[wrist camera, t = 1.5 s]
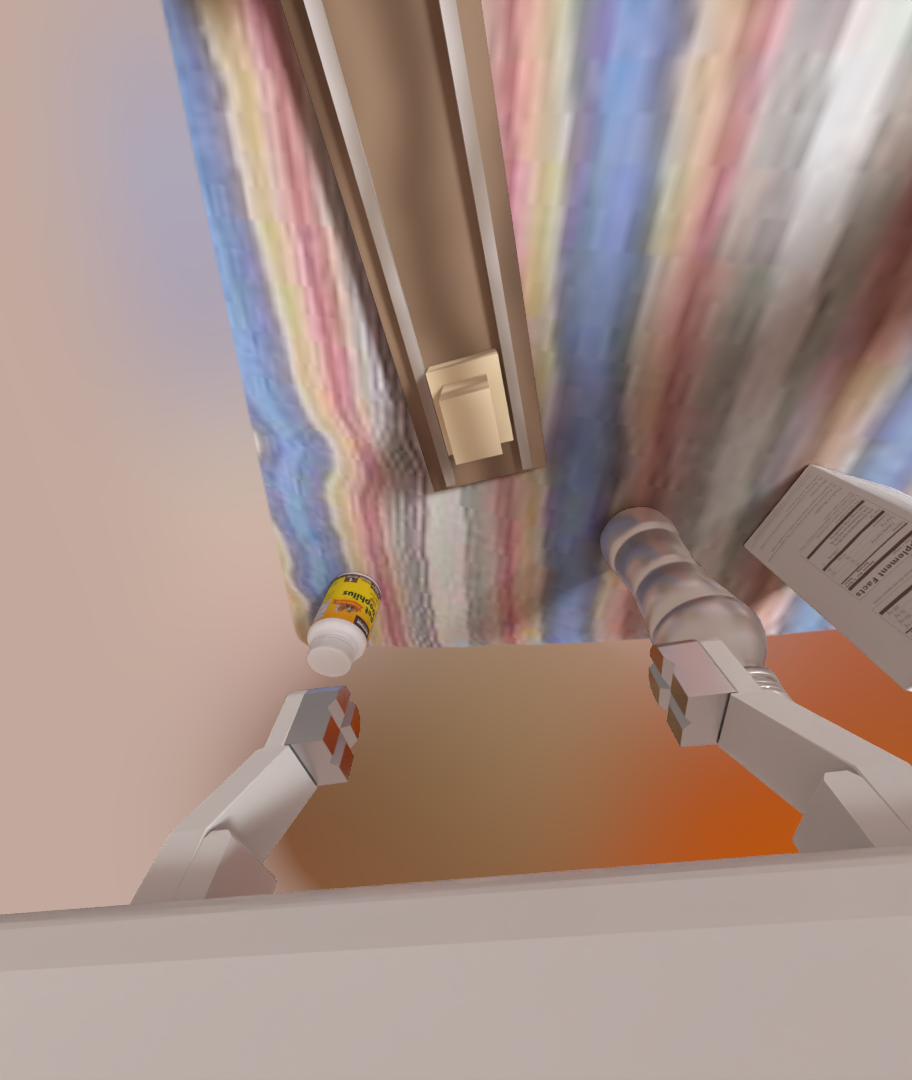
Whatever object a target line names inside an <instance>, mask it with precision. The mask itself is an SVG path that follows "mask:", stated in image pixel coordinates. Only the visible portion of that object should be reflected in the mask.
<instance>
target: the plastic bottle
mask: <svg viewBox="0 0 912 1080" xmlns="http://www.w3.org/2000/svg"><path fill="white" fill-rule="evenodd" d="M600 546H601V550H602V554H603V558H604V560H605V562H606V563H607V564H608V566H609V567H610V568H611V569H612V570H613V571H614V572H615V573H616V574H617V575H618V576H619V577H620V578H621V580H622V581H623V582H624V584H625V585H626V587H627V588H628V589H629V591H630V592H631V594H632V595H633V597H634V599H635V601H636V603H637V605H638V607H639V610H640V612H641V614H642V616H643V618H644V621H645V624H646V627H647V630H648V633H649V636H650V639H651V642H652V644H653V645H655V644H662V643H669V642H676V641H683V640H690V639H692V640H694V639H699V638H707V637H714V636H716V637H718V638H719V639H721V640H722V642H723V643H724V644H725V645H726V647H727V648H728V649H729V650H730V651H731V653H732V654H733V655H734V656H735V657H736V659H737V660H738V661H739V662H740V663H741V665H742V666H743V667H744V668H745V669H746V671H747V672H748V673H749V674H750V675H751V677H752V678H753V679H754V680H755V681H756V683H757V684H758V685H759V686H760V688H761V689H762V690H768V689H770V690H772V691H773V692H775V693H777V694H779V695H781V696H783V697H785V698H787V699H788V700H790V701H792V699H791V698H790V697H789V695H788V694H787V693H786V691H785V690H784V689H783V688H782V686H781V683H780V681H779V679H778V678H777V677H776V675H775V674H774V673H773V672H772V671H771V670H769V669H768V668H765V662H766V654H767V636H766V633H765V630H764V628H763V625H762V623H761V621H760V619H759V617H758V616H757V615H756V613H755V612H754V611H752V610H751V609H750V608H749V607H748V606H747V605H746V604H745V603H743V602H742V601H741V600H740V599H738V598H737V597H736V596H734V595H733V594H732V593H731V592H729V591H728V590H727V589H726V588H724V587H723V586H722V585H720V584H719V583H718V582H717V581H715V580H714V579H713V578H712V577H711V576H710V575H709V574H708V573H707V572H706V571H705V570H704V569H703V568H702V567H701V566H700V565H699V564H698V563H697V562H696V561H695V560H694V558H693V557H692V555H691V554H690V552H689V551H688V549H687V548H686V547H685V545H684V544H683V542H682V540H681V538H680V535H679V533H678V531H677V529H676V528H675V526H674V524H673V523H672V521H671V520H670V519H669V518H668V517H666V516H665V515H663V514H662V513H660V512H659V511H657V510H655V509H653V508H649V507H634V508H629V509H626V510H623V511H621V512H619V513H618V514H616V515H615V516H613V517H612V518H611V519H610V520H609V522H608V523H607V524H606V526H605V527H604V529H603V531H602V533H601V538H600ZM792 702H793V701H792Z"/></svg>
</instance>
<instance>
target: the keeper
mask: <svg viewBox="0 0 912 1080" xmlns="http://www.w3.org/2000/svg"><path fill="white" fill-rule="evenodd" d="M426 377H427V381H428V384H429V388H430V392H431V395H432V399H433V402H434V406H435V410H436V413H437V417H438V420H439V424H440V427H441V431H442V435H443V438H444V442H445V445H446V449H447V452H448V456H450V455H453V456H454V459H455V463H456V465H458V464H462V463H466V462H471V461H475V460H479V459H483V458H487V457H492V456H496V455H500V454H503V453H502V448H501V443H504V442H508V441H512V440H513V434H512V429H511V424H510V418H509V413H508V407H507V402H506V396H505V391H504V385H503V380H502V374H501V369H500V363H499V358H498V353H497V351H496V349H491V350H488V351H484V352H480V353H477V354H473V355H470V356H466V357H463V358H459V359H456V360H452V361H448V362H445V363H441V364H438V365H434V366H431V367H429V368H428V370H427V372H426Z"/></svg>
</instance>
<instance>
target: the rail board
mask: <svg viewBox="0 0 912 1080" xmlns="http://www.w3.org/2000/svg"><path fill="white" fill-rule="evenodd" d="M280 2H281V5H282V8H283V11H284V14H285V17H286V21H287V24H288V27H289V30H290V33H291V37H292V40H293V43H294V46H295V49H296V52H297V56H298V59H299V62H300V65H301V68H302V71H303V75H304V78H305V81H306V84H307V87H308V91H309V94H310V97H311V100H312V103H313V106H314V110H315V113H316V116H317V119H318V122H319V126H320V129H321V132H322V135H323V138H324V141H325V145H326V148H327V151H328V154H329V157H330V160H331V164H332V167H333V170H334V173H335V176H336V180H337V183H338V186H339V189H340V192H341V195H342V199H343V202H344V205H345V208H346V211H347V214H348V218H349V221H350V224H351V227H352V230H353V234H354V237H355V240H356V243H357V246H358V249H359V253H360V256H361V259H362V262H363V265H364V269H365V272H366V275H367V278H368V281H369V284H370V288H371V291H372V294H373V297H374V300H375V303H376V307H377V310H378V313H379V316H380V319H381V323H382V326H383V329H384V332H385V335H386V338H387V342H388V345H389V348H390V351H391V354H392V357H393V361H394V364H395V367H396V370H397V373H398V377H399V380H400V383H401V386H402V389H403V392H404V396H405V399H406V402H407V405H408V408H409V412H410V415H411V418H412V421H413V424H414V427H415V431H416V434H417V437H418V440H419V443H420V446H421V450H422V453H423V456H424V459H425V462H426V466H427V469H428V472H429V475H430V478H431V481H432V485H433V488H434V491H440V490H444V489H448V488H453V487H457V486H462V485H466V484H470V483H475V482H479V481H484V480H488V479H493V478H497V477H501V476H506V475H510V474H515V473H519V472H523V471H528V470H532V469H537V468H541V467H545V466H547V462H546V455H545V448H544V441H543V434H542V427H541V420H540V413H539V406H538V399H537V392H536V385H535V377H534V370H533V363H532V356H531V349H530V342H529V335H528V328H527V321H526V314H525V307H524V300H523V293H522V286H521V279H520V272H519V265H518V258H517V251H516V244H515V237H514V230H513V222H512V215H511V208H510V201H509V194H508V187H507V180H506V173H505V166H504V159H503V152H502V145H501V138H500V131H499V124H498V117H497V110H496V103H495V96H494V89H493V82H492V75H491V68H490V60H489V53H488V46H487V39H486V32H485V25H484V18H483V11H482V4H481V0H280ZM491 349H496V351H497V353H498V358H499V363H500V369H501V374H502V380H503V385H504V391H505V396H506V402H507V407H508V413H509V418H510V424H511V429H512V434H513V440H512V441H508V442H504V443H501V448H502V453H503V454H500V455H496V456H492V457H487V458H483V459H479V460H475V461H471V462H466V463H462V464H458V465H456V463H455V459H454V456H453V455H450V456H448V452H447V449H446V445H445V442H444V438H443V435H442V431H441V427H440V424H439V420H438V417H437V413H436V410H435V406H434V402H433V399H432V395H431V392H430V388H429V384H428V381H427V377H426V372H427V370H428V368H429V367H431V366H434V365H438V364H441V363H445V362H448V361H452V360H456V359H459V358H463V357H466V356H470V355H473V354H477V353H480V352H484V351H488V350H491Z"/></svg>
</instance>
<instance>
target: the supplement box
mask: <svg viewBox="0 0 912 1080" xmlns="http://www.w3.org/2000/svg"><path fill="white" fill-rule="evenodd" d="M744 547H745V548H746V549H747V550H748V551H749V552H750V553H752V554H753V555H754V556H755V557H756V558H757V559H758V560H759V561H761V562H762V563H763V564H764V565H765V566H766V567H767V568H768V569H770V570H771V571H772V572H773V573H774V574H775V575H776V576H777V577H779V578H780V579H781V580H782V581H783V582H784V583H785V584H786V585H788V586H789V587H790V588H791V589H792V590H793V591H794V592H796V593H797V594H798V595H799V596H800V597H801V598H802V599H803V600H804V601H806V602H807V603H808V604H809V605H810V606H811V607H812V608H813V609H815V610H816V611H817V612H818V613H819V614H820V615H821V616H822V617H824V618H825V619H826V620H827V621H828V622H829V623H830V624H831V625H833V626H834V627H835V628H836V629H837V630H838V631H839V632H840V633H842V634H843V635H844V636H845V637H846V638H847V639H848V640H849V641H851V642H852V643H853V644H854V645H855V646H856V647H857V648H858V649H860V650H861V651H862V652H863V653H864V654H865V655H866V656H867V657H868V658H869V659H871V660H872V661H873V662H874V663H875V664H876V665H877V666H878V667H879V668H881V669H882V670H883V671H884V672H885V673H886V674H887V675H888V676H890V677H891V678H892V679H893V680H894V681H895V682H896V683H897V684H899V685H900V686H901V687H902V688H903V689H904V690H907V691H911V692H912V497H911V496H909V495H906V494H904V493H902V492H900V491H898V490H896V489H894V488H891V487H888V486H885V485H882V484H878V483H875V482H871V481H868V480H864V479H861V478H857V477H853V476H850V475H847V474H843V473H840V472H837V471H833V470H830V469H826V468H823V467H820V466H816V465H812V464H811V465H808V467H807V468H806V469H805V470H804V472H803V473H802V474H801V475H800V476H799V478H798V479H797V480H796V481H795V483H794V484H793V485H792V486H791V488H790V489H789V490H788V491H787V493H786V494H785V495H784V496H783V498H782V499H781V500H780V501H779V503H778V504H777V505H776V506H775V508H774V509H773V510H772V511H771V512H770V514H769V515H768V516H767V517H766V519H765V520H764V521H763V522H762V524H761V525H760V526H759V527H758V529H757V530H756V531H755V532H754V533H753V535H752V536H751V537H750V538H749V540H748V541H747V542H746V543H745V544H744Z"/></svg>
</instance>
